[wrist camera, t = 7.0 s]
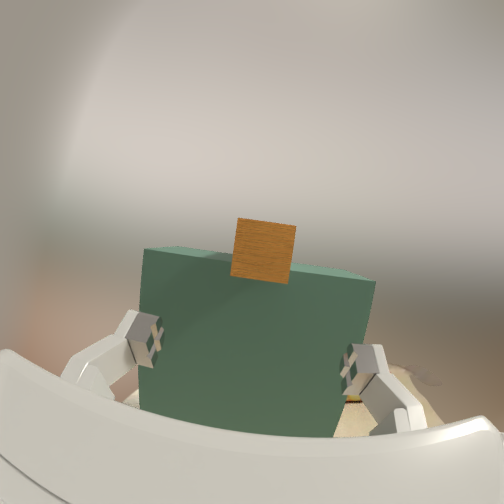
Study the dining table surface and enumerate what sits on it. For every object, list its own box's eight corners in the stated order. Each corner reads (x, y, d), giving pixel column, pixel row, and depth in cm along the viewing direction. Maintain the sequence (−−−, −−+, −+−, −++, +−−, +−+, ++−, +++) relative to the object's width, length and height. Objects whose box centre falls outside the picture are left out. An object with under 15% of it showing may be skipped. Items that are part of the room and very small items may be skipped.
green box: (310, 487, 23) (375, 281, 22) (145, 463, 24) (144, 248, 23) (301, 441, 33) (343, 269, 32) (167, 421, 34) (178, 246, 32)
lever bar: (287, 283, 14) (296, 225, 14) (229, 275, 14) (238, 217, 14) (272, 257, 36) (275, 235, 36) (249, 254, 36) (253, 231, 36)
